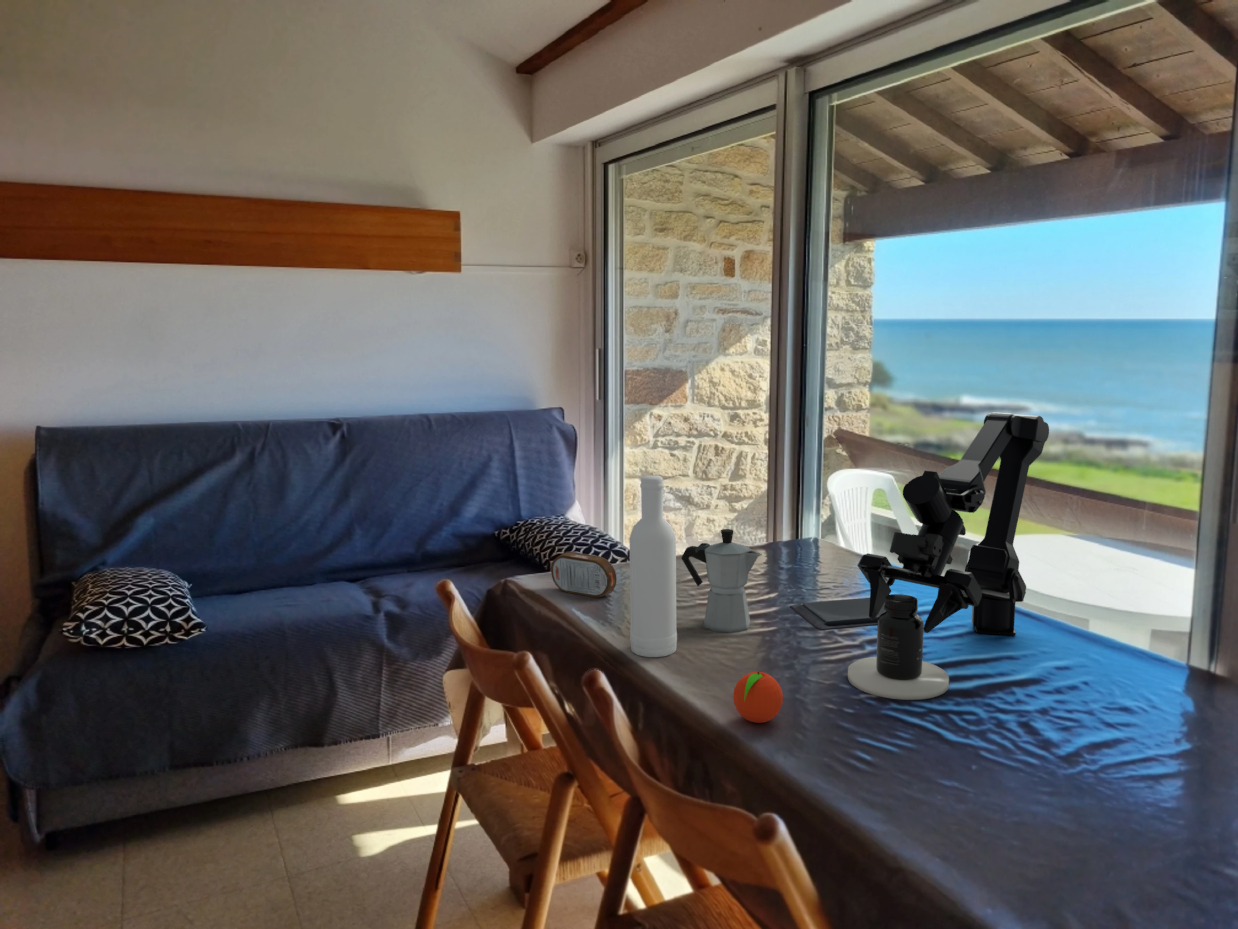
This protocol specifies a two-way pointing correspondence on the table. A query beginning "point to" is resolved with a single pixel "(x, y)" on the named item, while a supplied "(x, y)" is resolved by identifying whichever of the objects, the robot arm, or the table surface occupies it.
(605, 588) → the tin
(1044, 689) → the table surface
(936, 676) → the saucer
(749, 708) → the clementine
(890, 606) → the supplement bottle
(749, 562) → the coffee maker
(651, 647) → the bottle
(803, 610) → the dark grey flat block
